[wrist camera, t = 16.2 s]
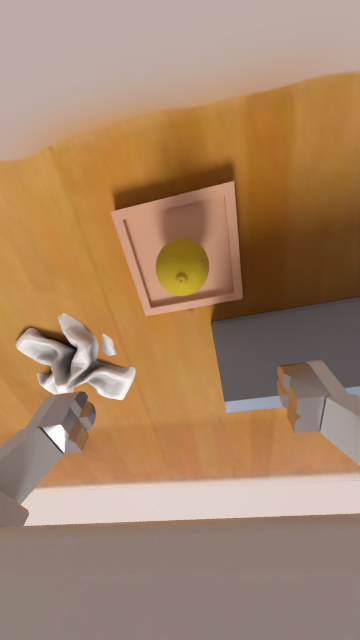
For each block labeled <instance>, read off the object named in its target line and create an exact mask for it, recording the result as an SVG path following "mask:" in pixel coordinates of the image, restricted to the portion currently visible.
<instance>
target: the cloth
mask: <svg viewBox="0 0 360 640" xmlns="http://www.w3.org/2000/svg"><path fill="white" fill-rule="evenodd" d="M58 320H59V323H60V326H61V329H62V331H63V333H64V334H65V336H66V338H67V339H68V341H69V342H70V343H71V344H72V345H73V346H75V347H73V346H70V345H67V344H64V343H61V342H58V341H55V340H52V339H48V338H47V337H45V336H43V335H42V334H41V333H40V332H39V331H37V330H36V329H34V328H29V329H27V330H26V331H25V332H24V333H23V334H22V335H21V337H20V338H19V339H18V340H17V341H16V347H17V349H18V350H20V351H21V352H22V353H24V354H25V355H27V356H29V357H31V358H32V359H34V360H36V361H37V362H39V363H42V364H47V365H50V366H51V370H52V372H53V373H52V374H50V375H47V374H43V373H37V377H38V380H39V383H40V385H41V386H43V387H44V388H45V389H46V390H48V391H50V392H51V393H53V394H62V393H72V392H74V391H73V388H74V387H76V386H78V385H80V384H83V383H85V382H88V383H90V384H91V385H92V386H94V388H95V389H96V390H97V392H98V393H99V394H100V395H102V396H104V397H108V398H113V399H118V400H123V398H124V397H125V395H126V393H127V391H128V389H129V387H130V385H131V383H132V381H133V379H134V377H135V369H134V368H133V367H131V366H130V367H125V368H122V367H117V366H113V365H110V364H107V363H101V362H99V361H98V360H97V354H98V351H99V345H98V343H97V340H96V338H95V337H94V336H93V334H91V333H90V332H89V331H88V330H87V329H86V328H85V327H84V325H83V324H81V323H80V322H78V321H76V320H75V319H73V318H71V317H70V316H68V315H66V314H65V313H63V314H62V315H60V316H58ZM102 344H103V347H102V350H103V351H104V353H105V354H106V355H108V356H112V355H116V354H117V352H116V350H115V348H114V344H113V342H112V339H110V338H109V337H108V336H106V335H105V334H103V341H102Z"/></svg>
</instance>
